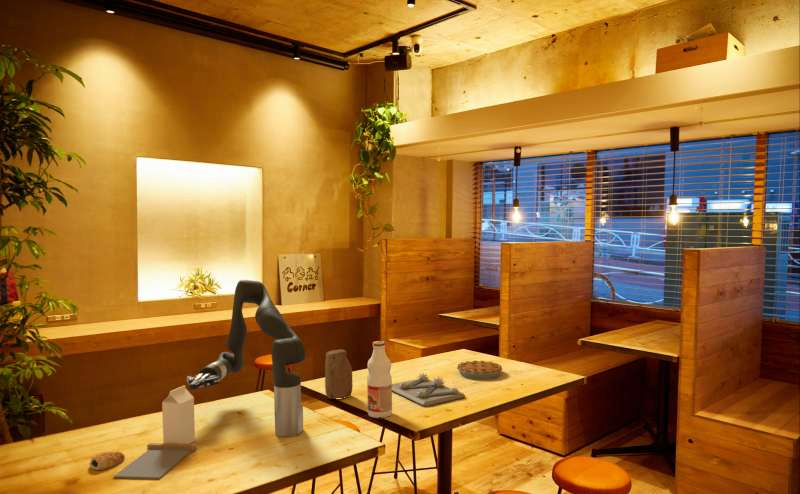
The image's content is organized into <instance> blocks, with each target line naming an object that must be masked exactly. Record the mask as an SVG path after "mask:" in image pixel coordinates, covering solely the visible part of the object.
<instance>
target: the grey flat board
mask: <svg viewBox="0 0 800 494" xmlns="http://www.w3.org/2000/svg"><path fill="white" fill-rule="evenodd" d="M146 446H147V447H146V451H145V452H144V453H142V454H140V456H138V457H137V458H136V459H134V460H133V461H131V462H130V463H129V464H128V465H126V466H125V467H124V468H123V469H121V470H119V471H118V472H117V473H116V474H114V475H113V479H129V480H131V479H132V480H133V479H134V480H137V479H140V480H161V479H162V478H163V477H164V476H165V475H166V474H167V473H168V472H170V471H171V470H172V469H173V468H174V467H175V466H176V465H178V464H179V463H180V462H182V460H183V459H185V458H186V457H187V456H188V455H189V454H190V453H191V452H196V450H197V443H190V444H168V443H163V442H161V443H160V442H159V443H158V442H157V443H156V442H155V443H154V442H149V443H147V444H146Z"/></svg>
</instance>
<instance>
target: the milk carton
mask: <svg viewBox="0 0 800 494" xmlns="http://www.w3.org/2000/svg"><path fill="white" fill-rule="evenodd" d="M161 404H162V411H161V412H162V414H161V415H162V443H168V444H193V442H195V441H196V429H195V428H196V427H195V425H196V424H195V423H196V422H195V397H194V396H193V394H191V393H190V391H189V390H188V389H187V388H186V385H182V386H180V387H177V388H175V389H172V390H170V391H169V393H168V396H167V397H166V398H165V399H163V401H162V403H161Z"/></svg>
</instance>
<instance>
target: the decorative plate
mask: <svg viewBox="0 0 800 494" xmlns="http://www.w3.org/2000/svg"><path fill="white" fill-rule="evenodd" d="M444 384H446V381H444V378H442V376H441V377H440V376H436V377H433V378H432V379H430V377H429V376H428V374H426V373H425V372H423V373H421V372H420V373H419V374H418V375H417V376H416V379H412V380H408V381H407V380H405V381H400V382H396V383H392V393H395V394H397V395H399V396H401V397H404V398H405V399H407V400H410V401H412V402H413V403H416V404H417V405H420V406H423V407H424V408H425V407H430V406H435V405H439V404H443V403H447V402H448V403H449V402H452V401H456V400H461V399H464V398H466V397H465V396H466V395H465V394H464V393H463V392H460V390H459V388H458V386H457V387H456V386H452V387H449V386H446V385H444Z"/></svg>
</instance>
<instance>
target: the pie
mask: <svg viewBox="0 0 800 494" xmlns="http://www.w3.org/2000/svg"><path fill="white" fill-rule="evenodd" d="M456 369H457V371H459V374H460V375H461V377H464V378H466V379H471V380H491V379H495V378H496V379H497V378H498V377H499V376H500V373H501V372H502V371H503V366H502V365H501V364H499V363H497V362H493V361H491V360H490V361H485V360H472V361H471V360H469V361H467V360H466V361H465V362H463V361H461V362H460V363H458V364H457V367H456Z"/></svg>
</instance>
